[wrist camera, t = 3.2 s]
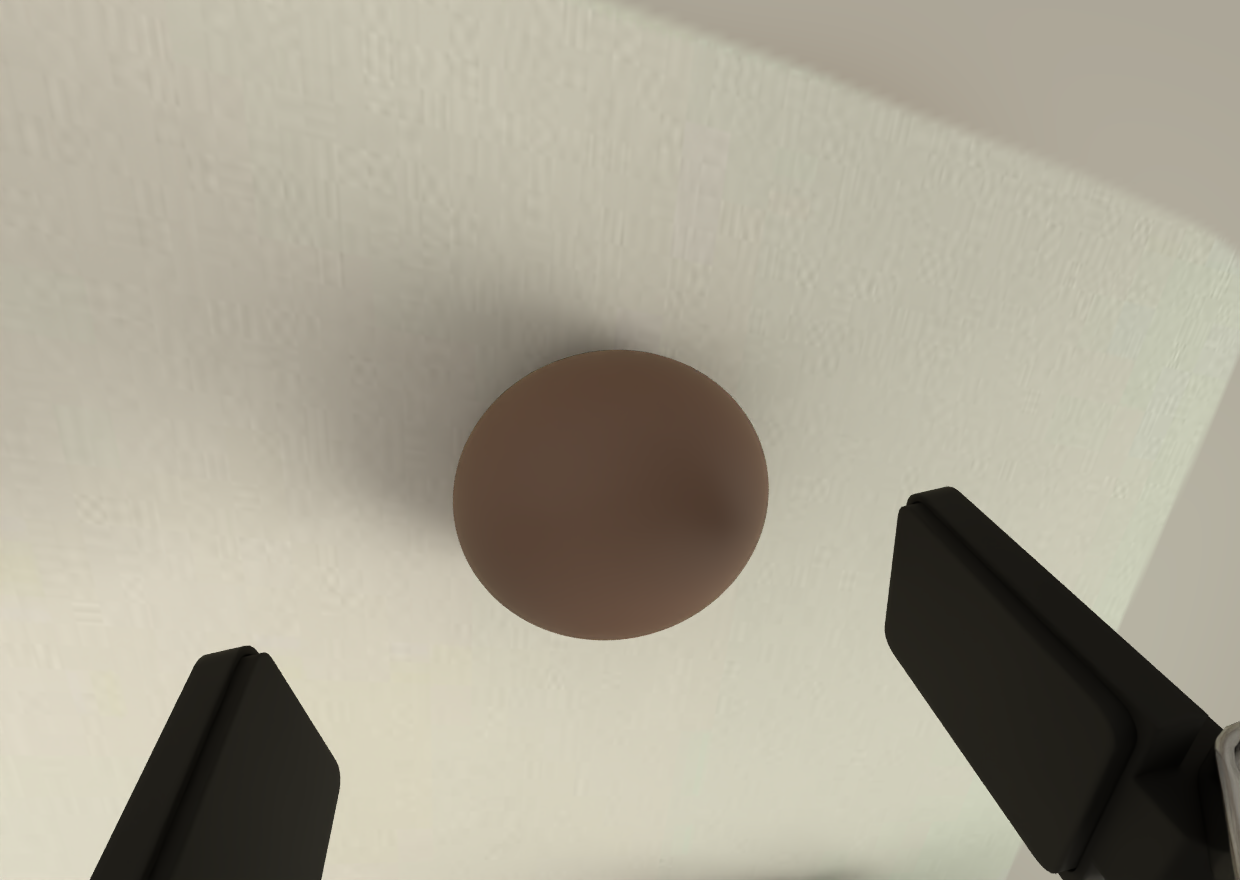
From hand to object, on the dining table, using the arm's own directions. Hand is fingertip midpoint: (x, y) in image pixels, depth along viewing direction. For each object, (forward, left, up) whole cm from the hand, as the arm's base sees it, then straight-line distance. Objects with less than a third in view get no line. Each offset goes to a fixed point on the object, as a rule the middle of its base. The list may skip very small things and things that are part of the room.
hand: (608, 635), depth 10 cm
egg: (-1, 0, -5) cm, 5 cm away
